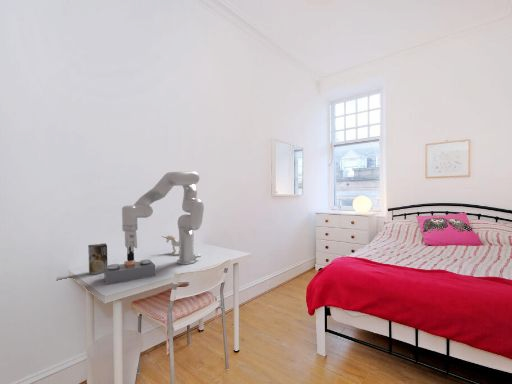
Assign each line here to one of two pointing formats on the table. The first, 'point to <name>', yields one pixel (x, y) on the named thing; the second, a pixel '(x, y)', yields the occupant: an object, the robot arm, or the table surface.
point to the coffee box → (97, 258)
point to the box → (129, 273)
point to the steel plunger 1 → (113, 267)
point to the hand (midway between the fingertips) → (130, 260)
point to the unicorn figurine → (174, 242)
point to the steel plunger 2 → (145, 262)
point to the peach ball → (129, 263)
